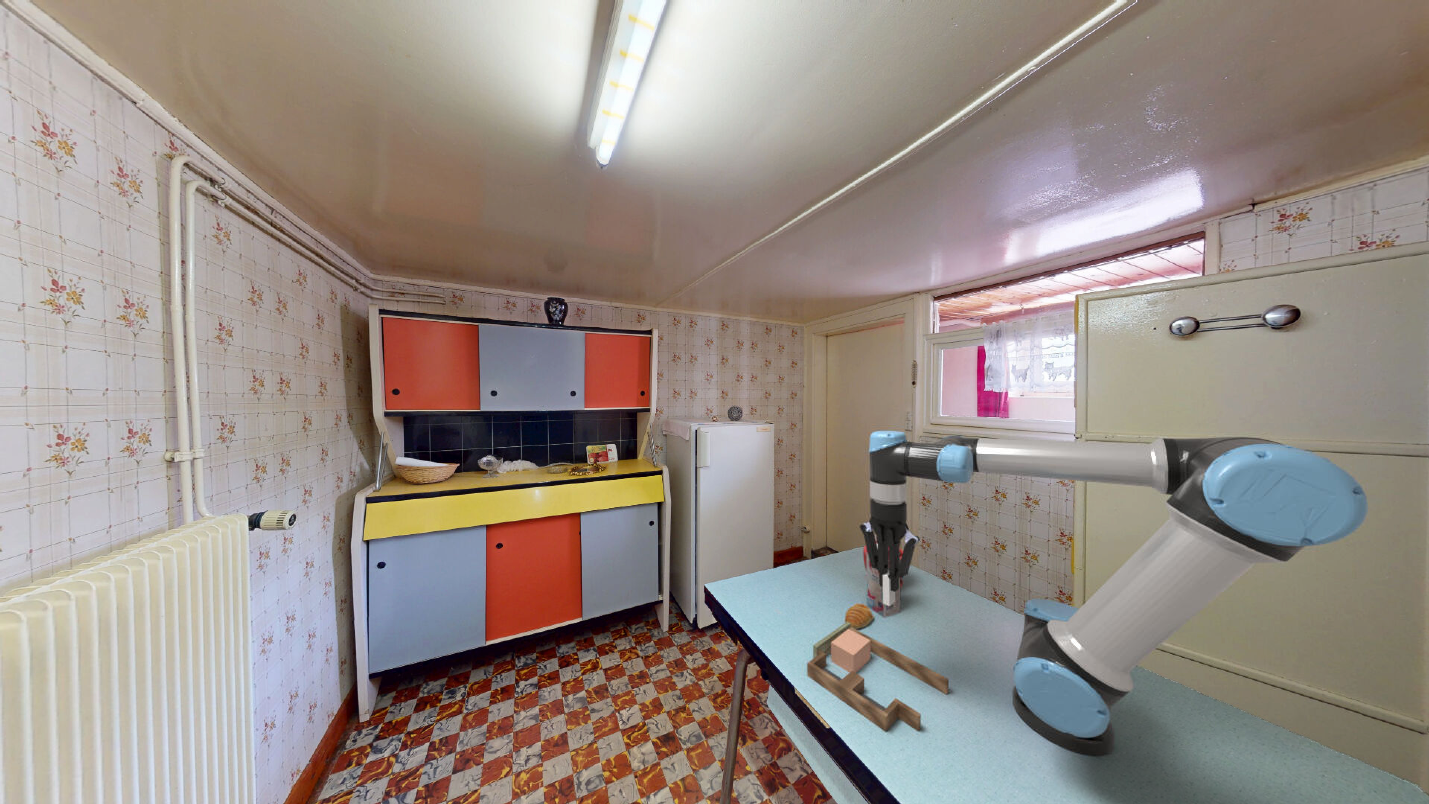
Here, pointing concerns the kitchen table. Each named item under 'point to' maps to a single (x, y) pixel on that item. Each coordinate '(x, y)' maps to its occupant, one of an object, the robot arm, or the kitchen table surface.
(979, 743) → the kitchen table surface
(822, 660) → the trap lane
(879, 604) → the juice carton
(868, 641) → the block
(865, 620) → the pastry
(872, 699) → the mats
